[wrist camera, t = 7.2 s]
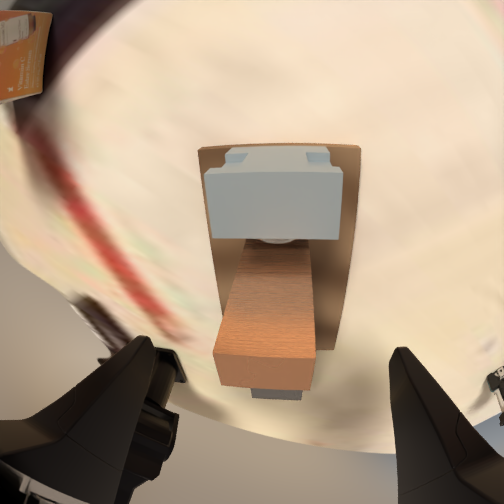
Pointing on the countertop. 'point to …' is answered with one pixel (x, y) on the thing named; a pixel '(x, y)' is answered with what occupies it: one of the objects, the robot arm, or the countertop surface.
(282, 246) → the sliding bolt with handle
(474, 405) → the countertop surface
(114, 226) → the countertop surface
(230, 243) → the base plate
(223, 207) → the socket
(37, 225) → the countertop surface
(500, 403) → the push button
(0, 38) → the small box
